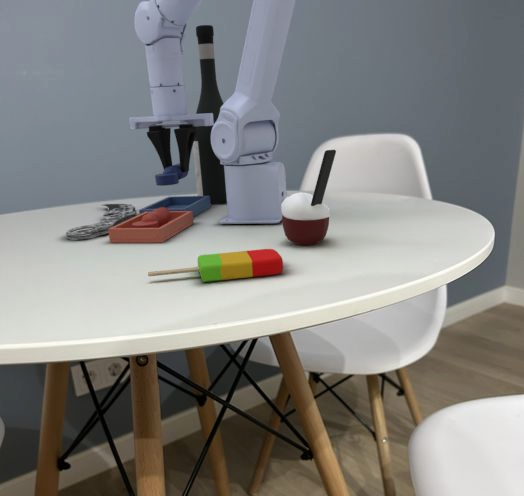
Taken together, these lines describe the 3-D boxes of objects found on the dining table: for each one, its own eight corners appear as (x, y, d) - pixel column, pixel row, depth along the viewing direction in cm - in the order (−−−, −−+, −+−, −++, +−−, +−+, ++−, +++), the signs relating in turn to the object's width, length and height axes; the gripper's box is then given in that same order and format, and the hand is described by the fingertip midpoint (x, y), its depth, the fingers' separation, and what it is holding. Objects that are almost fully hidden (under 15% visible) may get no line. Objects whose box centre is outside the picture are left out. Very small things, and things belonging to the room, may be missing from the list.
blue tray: (210, 206, 108) (209, 195, 107) (186, 221, 96) (184, 209, 95) (169, 207, 110) (168, 196, 109) (140, 221, 98) (138, 209, 97)
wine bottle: (192, 205, 110) (173, 25, 98) (207, 198, 117) (191, 29, 105) (232, 205, 108) (218, 21, 96) (244, 197, 115) (233, 25, 103)
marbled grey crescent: (100, 201, 113) (150, 195, 112) (101, 209, 113) (152, 203, 113) (52, 235, 87) (118, 227, 86) (55, 245, 87) (120, 237, 87)
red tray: (193, 223, 94) (192, 210, 93) (162, 242, 82) (160, 228, 82) (147, 223, 96) (145, 211, 95) (110, 242, 84) (107, 229, 84)
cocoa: (277, 237, 81) (273, 147, 76) (321, 233, 82) (319, 144, 77) (291, 254, 72) (288, 153, 68) (340, 249, 73) (340, 149, 68)
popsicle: (285, 274, 64) (284, 258, 64) (148, 289, 62) (146, 272, 61) (276, 262, 69) (275, 246, 69) (149, 275, 67) (146, 259, 66)
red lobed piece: (156, 222, 94) (153, 206, 93) (177, 222, 93) (176, 205, 92) (129, 236, 85) (126, 218, 84) (153, 236, 84) (150, 218, 83)
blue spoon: (174, 177, 106) (172, 162, 105) (194, 176, 105) (192, 161, 104) (152, 186, 97) (150, 169, 96) (173, 185, 96) (171, 168, 95)
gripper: (116, 89, 95) (128, 175, 100) (200, 84, 91) (208, 173, 97) (135, 89, 101) (145, 170, 106) (214, 84, 97) (221, 168, 103)
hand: (176, 171), depth 102 cm, fingers closed on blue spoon, 2 cm apart
